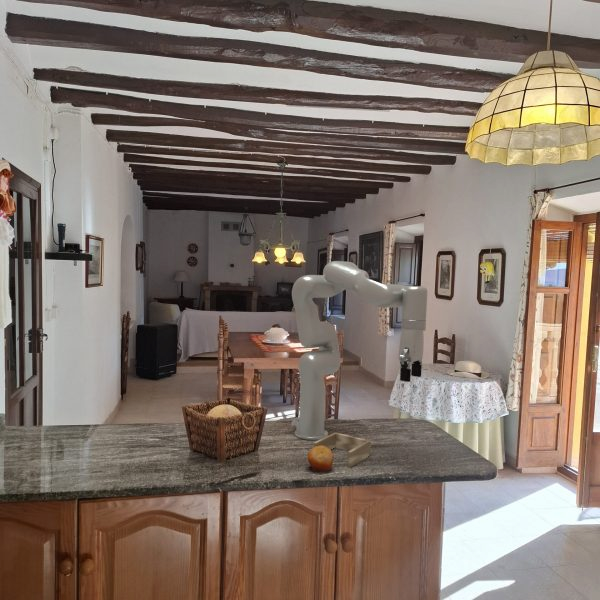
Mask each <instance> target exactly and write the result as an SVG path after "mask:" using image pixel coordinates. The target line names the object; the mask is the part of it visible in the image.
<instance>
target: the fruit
mask: <svg viewBox="0 0 600 600" xmlns="http://www.w3.org/2000/svg"><path fill="white" fill-rule="evenodd" d="M307 461H308V463H309V466H310V467H311V468H312V469H313V471H314V472H323V471H325V472H326V471H329V470H330V469H332V467H333V465H334V454H333V451H332V450H330V449H328V448H327V447H325V446H322V445H321V446H315V447H314V446H313V447H311V449H310V450H309V451H308V453H307Z"/></svg>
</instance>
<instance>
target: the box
mask: <svg viewBox="0 0 600 600" xmlns="http://www.w3.org/2000/svg"><path fill="white" fill-rule="evenodd" d="M321 445H322V446H325V447H327V448H328V449H330V450H331V449H332V450H334V449H340V450H344V451H348V452H347V453H348V454H347V468H350V469H351V468H352V467H353V468H354V466H356V465H358V464H359V463H361V462H362V461H364V460H365V459H367V458H369V457H370V456H371V451H372V450H371V449H372V447H371V445H372V441H371V440H368V439H364V438H359V437H355V436H351V435H347V434H343V433H340V432H335V431H334V432H332V433H331V434H328V436H326V437H324V438H322V439H320V440H315V441H314V442H313V447H315V446H321ZM335 447H336V448H335ZM333 448H334V449H333ZM332 450H331V451H332ZM368 456H369V457H368Z"/></svg>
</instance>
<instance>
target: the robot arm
mask: <svg viewBox="0 0 600 600" xmlns="http://www.w3.org/2000/svg"><path fill="white" fill-rule="evenodd" d="M369 275H370V274H369V273H368V272H367V271H365V270H364V269H360V268H359V267H358V266H357V265H356V264H355V263H353V262H351V261H342V260H333V261H329V262H328V263H327V264H326V265H325V266H324V268H323V271H322V274H321V275H320V274H307V275H306V274H305V275H303V276H300V277H299V278H297V279H296V280H295V282H294V284H293V285H292V290H291V298H292V302H293V303H292V304H293V306H294V307H293V308H294V310H295V317H296V325H297V334H298V339H299V343H300V344H301V346H303V347H304V348H309V349H310V348H318V350H311V351H308V352H305V353H304V354H302V355H301V356H300V358H299V360H298V371H299V378H300V379H299V383H300V385H299V386H300V389H299V390H300V391H299V413H298V414H299V417H298V419H299V420H298V419H294V418H293V419H292V421H291V423H290V426H292V427H296V429H295V430H294V436H295V437H297V438H299V439H302V440H307V441H308V440H309V441H318V440H320V439H322V438H324V437H326V436H328V435H329V431H328V430H326V429H325V417H326V416H325V415H326V396H327V395H326V394H327V393H326V392H327V391H326V384H325V381H324V378H323V376H327V375H332V374H336V373H337V372H338V371H339V369H340V367H341V353H340V346H339V337H338V332H337V330H336V327H334V325H333V324H332V323H330V322H328V321H321V320H320V316H319V309H318V307H317V305H316V303H315V302H314V301H313V299H314V298H316V299H319V298H320V299H324V298H332V297H334V296H336V295H339V294H340V293H342V292H343V291H348V292H350V293H353V294H355V296H356V297H358V299H360V300H361V301H363V302H365V303H367V304H370V305H372V306H375V307H378V308H380V309H381V308H383V309H384V308H385V309H387V308H401V327H400V329H401V333H400V339H399V346H398V348H399V349H398V360H399V361H400V362H399V364H400V366H399V368H400V369H399V370H400V373H399V374H400V375H399V381H401V382H407V383H410V382H411V376H412V377H418V378H421V377H422V367H423V366H422V365H423V355H424V337H425V335H424V331H426V325H427V310H428V309H427V307H428V289H427V287H425V286H420V285H404V284H399V283H398V284H397V283H396V284H395V283H394V284H393V283H390V284H389V283H388V284H387V283H382V282H378V281H375V280H373V279H370V276H369Z"/></svg>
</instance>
